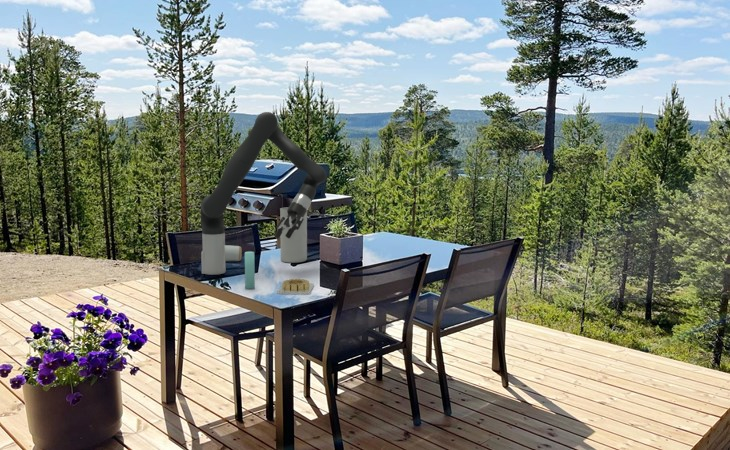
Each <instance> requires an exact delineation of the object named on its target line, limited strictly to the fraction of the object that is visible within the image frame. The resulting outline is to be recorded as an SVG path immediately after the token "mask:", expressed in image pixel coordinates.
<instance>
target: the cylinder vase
mask: <svg viewBox="0 0 730 450" xmlns="http://www.w3.org/2000/svg"><path fill="white" fill-rule="evenodd" d="M288 208H289V206H288V207H281V208H279V210H280V211H279V212H280V216H279V218H280V220H281V218H282V217H284V218H286V217H287V216H288V213H287V210H288ZM303 218H304V220H303V222H302V224H301V226H300V228H299V229H298V230H297V229H296V231H294V232H293V234H292V236H291V237H290V238H287V237H286V236H285V235H286V233H287V232H288V230H289V229H290V227H289V228H288V229H285V230H284V231H283V232H282V234H281V236H280V238H279V239H280V261H281V262H283V263H288V264H291V263H293V264H294V263H295V264H296V263H304V262H306V261H307V260H308V211H307V212H306V214H305V215H304V217H303ZM280 220H279V221H280ZM285 226H286V225H285ZM297 226H298V224H297ZM283 228H284V227H283Z"/></svg>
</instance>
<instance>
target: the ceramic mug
mask: <svg viewBox="0 0 730 450" xmlns="http://www.w3.org/2000/svg"><path fill="white" fill-rule="evenodd" d="M242 250H243V249H242V247H241V246H239V245H227V244H225V262H240V261H241V260H242V257H243V255H242V254H243V253H242Z"/></svg>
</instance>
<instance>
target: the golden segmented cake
mask: <svg viewBox="0 0 730 450" xmlns="http://www.w3.org/2000/svg"><path fill="white" fill-rule="evenodd" d="M314 285H315V284H314V282H310V281H309V280H308V279H304V278H303V279H302V278H292V279H291V278H289V279H285V280H283V281H282V284H281V286H280V287H279V288H278V290H277V293H276V294H277V295H309V296H310V295H311V293H312V290H313V288H314Z"/></svg>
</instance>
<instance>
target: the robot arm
mask: <svg viewBox="0 0 730 450" xmlns="http://www.w3.org/2000/svg"><path fill="white" fill-rule="evenodd" d="M278 125H279V122H278V117H277V116H276V114H274V113H273V112H270V111H264V112H261V113H260V114H258V116H257V117H256V119H255V121H254V124H253V127H252V128H251V130H250V132H249V134H248V135H247V137H246V138H245V139H244V140H243V142H242V143H241V144H240V145H239V146H238V147H237V149H235V152H233V154H232V156H231V157H230V159H229V160H228V162H227V164H226V166H225V168H224V170H223V172H222V174H221V175H222V176H221V178H220V180H219V183H218V184H217V186H216V187H215V188H214V190H213V191H212V193H211V194H210V195H206V196H204V197H203V198H202V200H201V202H200V223H201V233H202V237H201V238H202V241H201V242H202V250H201V252H200V256H201V262H200V263H201V264H200V265H201V274H202V275H204V274H205V275H210V276H211V275H212V276H213V275H221V274H225V273H226V261H225V245H226V235H225V234H226V233H225V231H226V230H225V229H226V228H225V223H224V213H225V211H226V209H227V207H228V205H229V203H230V200H232V197H233V195H234V194H235V192H236V191H237V189H238V188H239V187H240V186H241V184H242V182H243V181H244V180H245V178H246V176H248V174H249V172H250V171H251V169H252V168H253V166H254V163H255V162H256V160H257V158H258V156H259V154H260V152H261V150H262V148H263V146H264V145H265V143H267V140H269V141H270V142H271V143H272V144H273V145H275V146H276V147H277V148H278V149H279V150H280V151H281V152H282V153H283V155H285V157H286V159H288V160H289V161H290V163H292V164H293V165H294V167H296V169H297V170H299V171H303V172H306V175H305V176H304V177H305V178H304V180H303V182H302V184H301V185H302V186H300V188H299V190H298V192H297V194H296V195H295V197H294V198H293V199H292V201H291V203H290V204H289V206H288V207H289V208H288V210H287V213H288V216H287V217H286V218H284V217H282V218H281V220H279V222H278V223H277V225H276V226H275V228H276V229H277V231H276V232H275V234H274V235H273V236H274V238H275V239H277V240H279V239H281V238H280V236H281V234H282V232H283V231H284V230H285V229H288V228H289V227H290V229H289V230H288V232H287V233H286V235H285V236H286V237H287V238H290V237H291V236H292V234H293V232H294V231H296V229H297V230H298V229H299V228H300V226H301V224H302V222H303V220H304V218H303V217H304V215H305V214H306V212H307V213H308V209H309V208H310V206H311V203H312V202H313V200H314V198H315V196H316V195H317V188H318V186H319V185H320V184H323V183H324V182H325V181H326V180H327V175H328V174H327V172H326V170H325V169H324V168H323V166H321V165H320V164H318V163H317V162H315V160H313V159H311V158H310V157H309V156H308V154H307V153H305V152H304V150H303V149H301V148H300V147H299V146H298V145H297V144H296V143H295V142H293V140H291V139H290V138H289V137H288V136H286V135H285V134H284V132H283V131H282V130H281V129H280V127H279V126H278ZM297 224H298V226H297ZM285 225H286V226H285ZM283 227H284V228H283Z"/></svg>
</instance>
